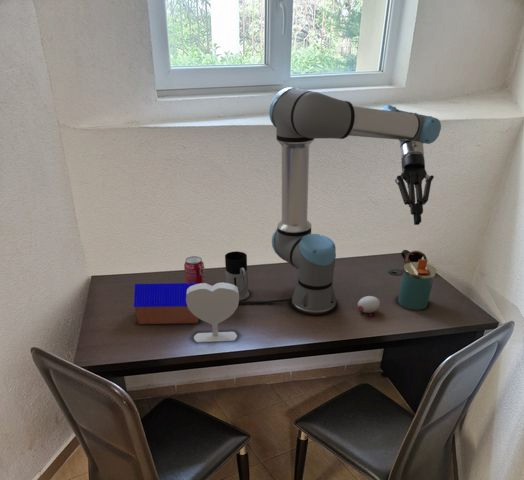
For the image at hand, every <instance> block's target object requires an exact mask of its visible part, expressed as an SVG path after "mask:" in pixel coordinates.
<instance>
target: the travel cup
mask: <svg viewBox="0 0 524 480" xmlns="http://www.w3.org/2000/svg"><path fill="white" fill-rule="evenodd" d="M417 265H418V262H410V261H409V263H407V264H406V263H404V265H403V268H402V271H403V273H402V276H401V277H402V278H401V283H400V288H399V293H398V298H397V303H398V304H399V306H401V307H403V308H405V309H407V310H412V311H419V310H424V309H426V308H427V307H428V304H429V300H430V294H431V292H432V288H433V283H434V280H435V276H436V275H437V269H436V267H434V265H431V264H429V263H427V265H426V269H427V271H428V272H429V274H420V273H419V272H418V270H417Z"/></svg>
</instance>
